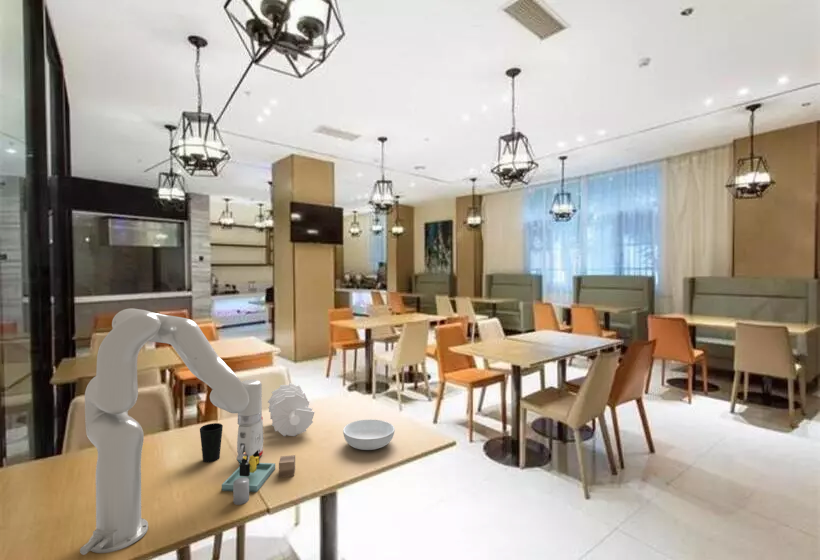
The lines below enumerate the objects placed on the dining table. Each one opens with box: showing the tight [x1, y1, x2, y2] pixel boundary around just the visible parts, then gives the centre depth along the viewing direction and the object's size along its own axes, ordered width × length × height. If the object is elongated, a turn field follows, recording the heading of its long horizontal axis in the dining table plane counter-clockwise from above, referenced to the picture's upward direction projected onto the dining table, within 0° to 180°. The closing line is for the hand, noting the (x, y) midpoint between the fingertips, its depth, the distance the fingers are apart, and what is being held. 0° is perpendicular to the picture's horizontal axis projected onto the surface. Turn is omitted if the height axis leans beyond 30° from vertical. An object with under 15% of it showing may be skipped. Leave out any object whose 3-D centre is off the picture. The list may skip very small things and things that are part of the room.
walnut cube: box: [278, 454, 296, 478], centre depth 135 cm, size 5×5×5 cm
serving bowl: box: [342, 418, 396, 451], centre depth 158 cm, size 21×21×7 cm
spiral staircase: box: [267, 382, 316, 437], centre depth 174 cm, size 18×18×25 cm
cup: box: [199, 422, 224, 463], centre depth 145 cm, size 8×8×12 cm
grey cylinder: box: [232, 477, 250, 506], centre depth 119 cm, size 4×4×6 cm
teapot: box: [243, 455, 260, 473], centre depth 131 cm, size 8×6×5 cm
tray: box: [221, 462, 276, 493], centre depth 131 cm, size 15×12×2 cm
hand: (249, 469), depth 131 cm, fingers closed on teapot, 6 cm apart
